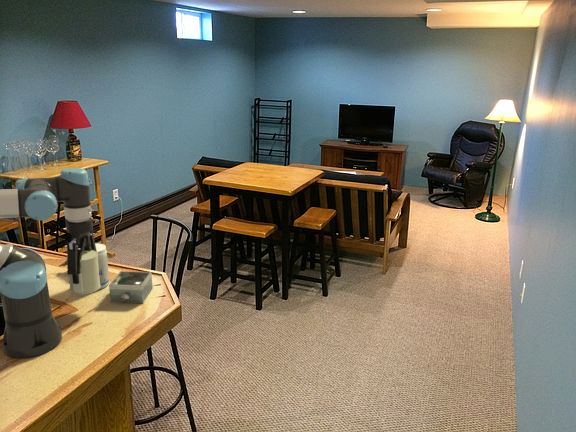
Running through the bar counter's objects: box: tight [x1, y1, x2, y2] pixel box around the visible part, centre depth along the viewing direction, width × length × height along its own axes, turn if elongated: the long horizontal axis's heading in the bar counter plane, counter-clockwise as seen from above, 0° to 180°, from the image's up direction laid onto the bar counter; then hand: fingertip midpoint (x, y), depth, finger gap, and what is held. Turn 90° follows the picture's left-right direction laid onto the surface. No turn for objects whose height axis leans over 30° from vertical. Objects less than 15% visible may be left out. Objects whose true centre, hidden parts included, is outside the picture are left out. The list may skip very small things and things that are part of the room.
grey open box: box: [108, 270, 153, 304], centre depth 164 cm, size 12×11×6 cm
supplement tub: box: [77, 242, 110, 291], centre depth 170 cm, size 10×10×15 cm
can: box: [66, 250, 101, 295], centre depth 151 cm, size 9×9×12 cm
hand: (85, 285), depth 153 cm, fingers closed on can, 9 cm apart
